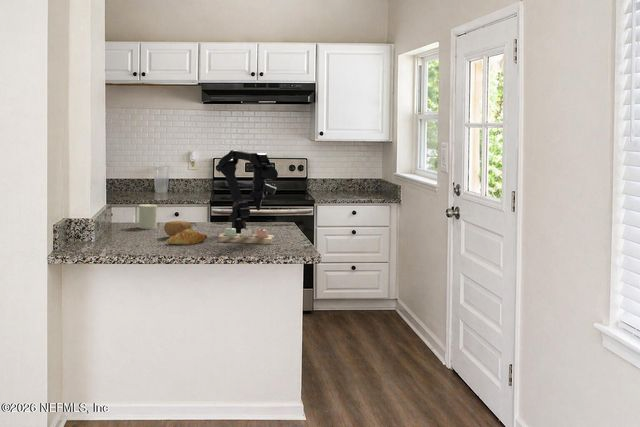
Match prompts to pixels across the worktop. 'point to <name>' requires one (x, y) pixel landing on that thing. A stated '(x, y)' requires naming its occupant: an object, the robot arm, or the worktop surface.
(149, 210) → the can
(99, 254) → the worktop surface
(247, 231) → the key two
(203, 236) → the croissant
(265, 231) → the key three
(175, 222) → the potato
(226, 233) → the key one
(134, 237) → the worktop surface
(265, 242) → the board
